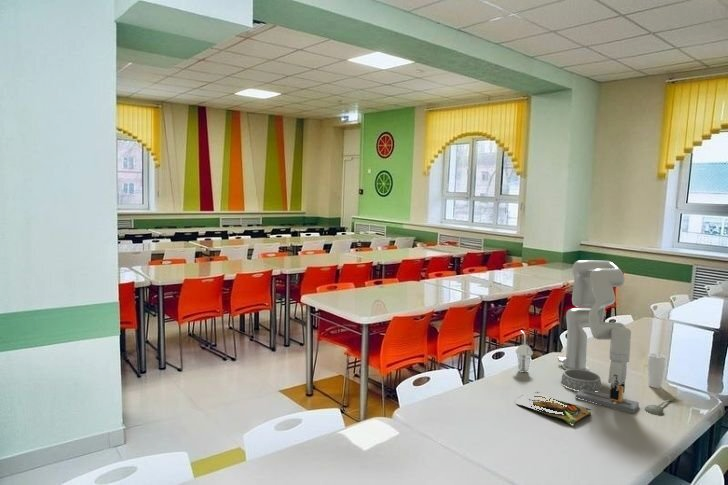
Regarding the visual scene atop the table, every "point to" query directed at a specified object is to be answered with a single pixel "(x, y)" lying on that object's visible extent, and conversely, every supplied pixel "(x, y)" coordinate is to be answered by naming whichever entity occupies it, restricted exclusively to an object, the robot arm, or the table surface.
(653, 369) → the drinking glass
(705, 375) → the table surface
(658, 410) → the soupspoon
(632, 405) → the fader console
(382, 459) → the table surface
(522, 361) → the cup with straw
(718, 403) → the table surface
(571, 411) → the prepared meal
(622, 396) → the fader knob
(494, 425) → the table surface
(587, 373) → the dog bowl
